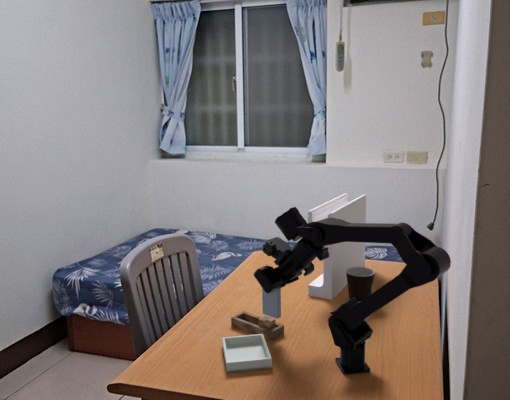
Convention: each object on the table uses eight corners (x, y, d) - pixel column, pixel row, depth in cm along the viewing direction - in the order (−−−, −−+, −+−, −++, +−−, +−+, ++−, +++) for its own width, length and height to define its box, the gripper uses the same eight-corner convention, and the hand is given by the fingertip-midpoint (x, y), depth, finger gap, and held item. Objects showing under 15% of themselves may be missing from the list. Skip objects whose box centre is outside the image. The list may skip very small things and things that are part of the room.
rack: (284, 333, 127) (284, 325, 127) (271, 341, 124) (271, 332, 123) (244, 319, 137) (244, 311, 137) (231, 325, 133) (231, 317, 133)
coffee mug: (353, 294, 153) (354, 265, 151) (378, 301, 148) (379, 270, 146) (335, 306, 144) (335, 275, 142) (361, 313, 139) (362, 281, 137)
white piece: (331, 299, 150) (332, 213, 144) (308, 295, 154) (307, 211, 148) (364, 267, 179) (366, 194, 174) (344, 264, 183) (345, 193, 178)
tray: (272, 368, 111) (271, 358, 110) (226, 372, 109) (226, 363, 109) (263, 342, 123) (262, 333, 123) (222, 346, 122) (222, 337, 121)
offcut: (275, 326, 127) (275, 318, 127) (269, 330, 125) (268, 322, 125) (265, 322, 130) (265, 315, 129) (258, 326, 128) (258, 319, 127)
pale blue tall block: (281, 316, 125) (280, 280, 123) (277, 318, 123) (276, 282, 122) (266, 311, 128) (265, 276, 126) (262, 313, 127) (262, 278, 125)
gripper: (304, 222, 125) (273, 255, 134) (258, 237, 112) (227, 273, 121) (329, 255, 122) (296, 287, 131) (285, 275, 108) (251, 309, 117)
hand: (268, 288), depth 125 cm, fingers closed on pale blue tall block, 2 cm apart
